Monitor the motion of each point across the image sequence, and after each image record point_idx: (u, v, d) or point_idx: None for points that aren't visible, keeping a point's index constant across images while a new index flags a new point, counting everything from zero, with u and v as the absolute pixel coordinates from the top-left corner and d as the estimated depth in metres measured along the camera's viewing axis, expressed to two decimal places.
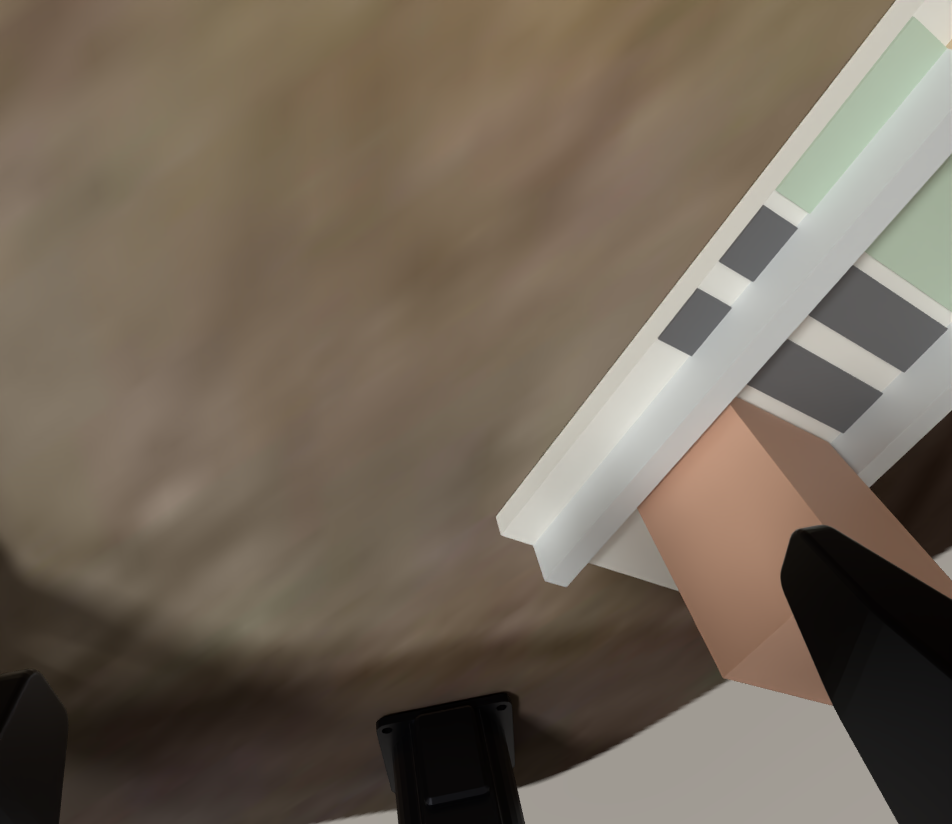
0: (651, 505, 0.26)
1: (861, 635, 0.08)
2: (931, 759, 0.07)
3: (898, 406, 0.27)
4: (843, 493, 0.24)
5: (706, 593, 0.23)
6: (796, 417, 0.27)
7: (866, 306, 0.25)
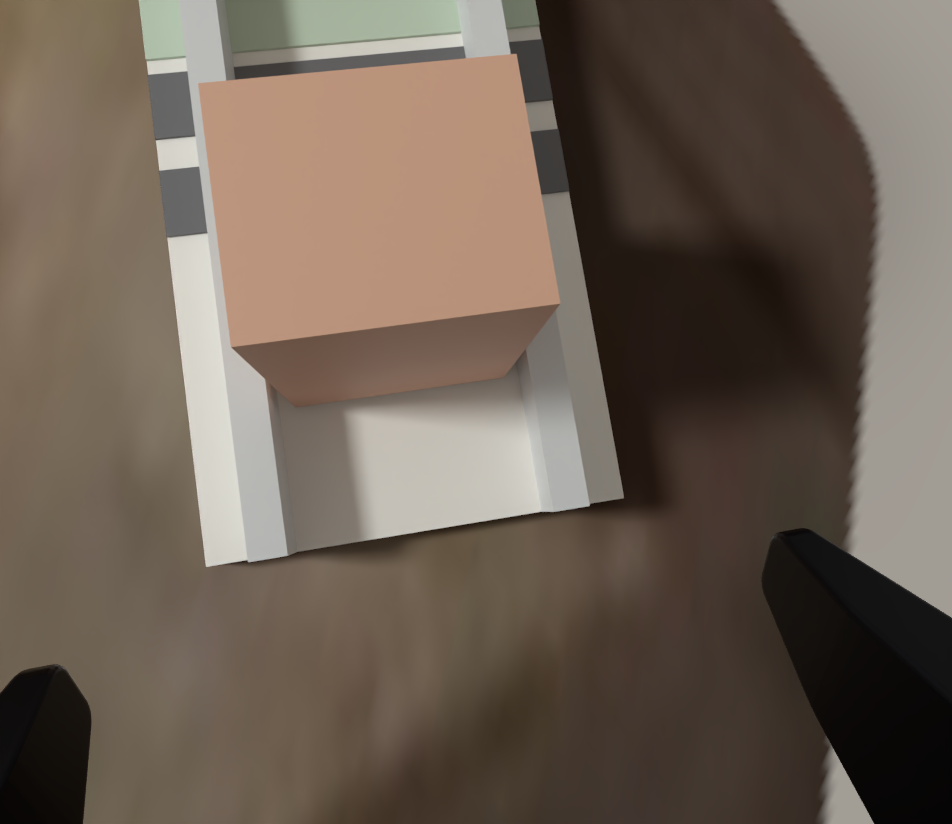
0: None
1: (839, 639, 0.08)
2: (908, 764, 0.07)
3: None
4: None
5: None
6: None
7: None
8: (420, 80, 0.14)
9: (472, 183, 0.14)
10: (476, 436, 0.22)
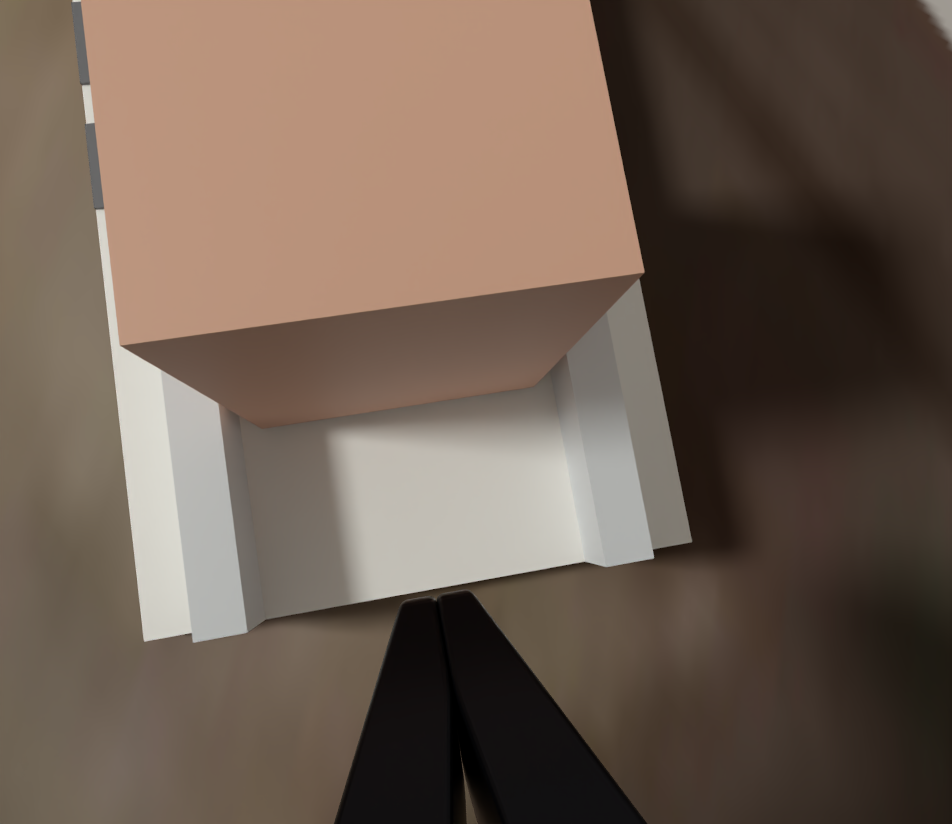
0: None
1: (457, 716, 0.08)
2: None
3: None
4: None
5: None
6: None
7: None
8: None
9: (504, 87, 0.09)
10: (499, 463, 0.17)
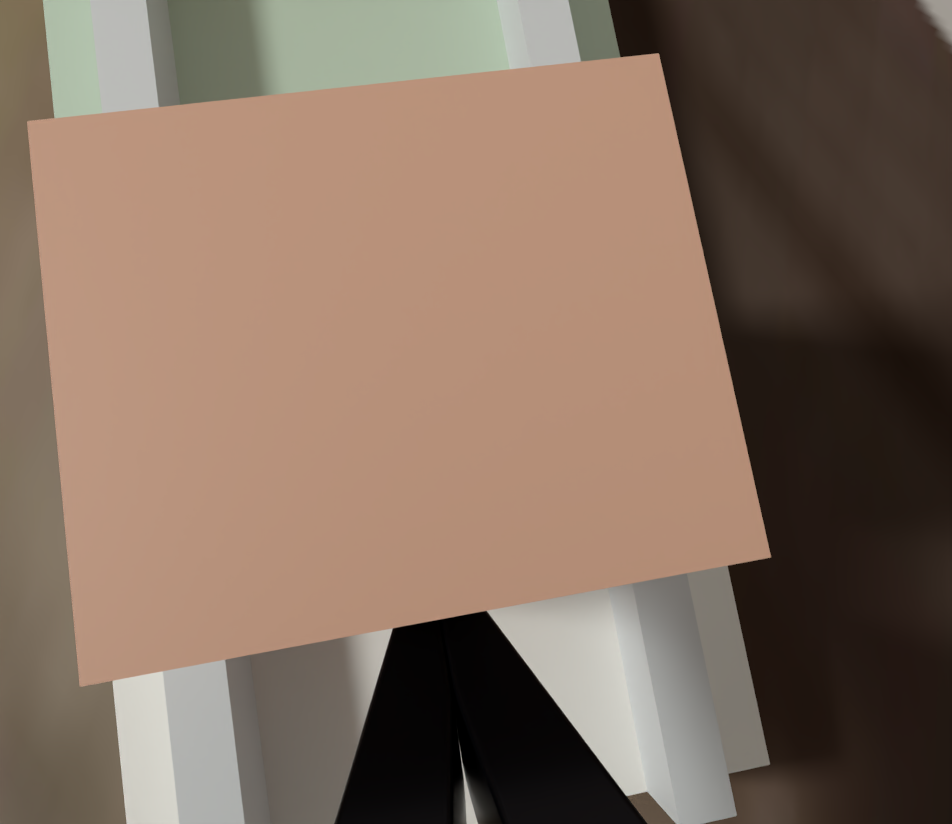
0: None
1: (458, 716, 0.08)
2: None
3: None
4: None
5: None
6: None
7: None
8: (476, 107, 0.07)
9: (584, 310, 0.07)
10: (546, 675, 0.14)
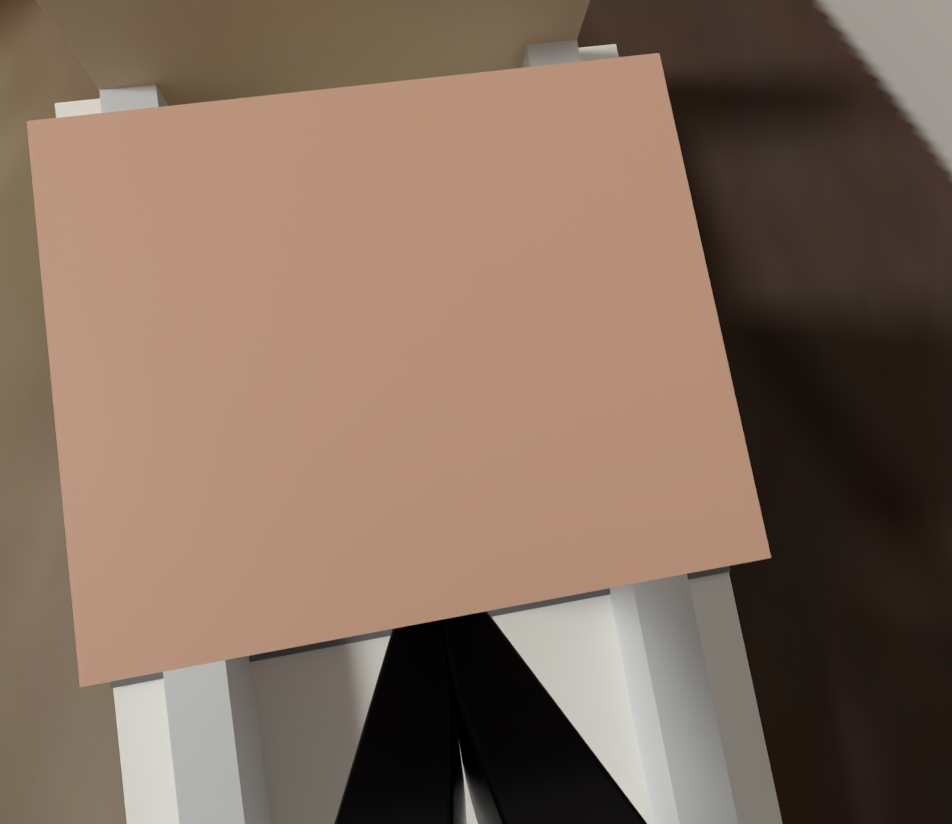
0: None
1: (458, 716, 0.08)
2: None
3: None
4: None
5: None
6: None
7: None
8: (476, 108, 0.07)
9: (584, 311, 0.07)
10: None
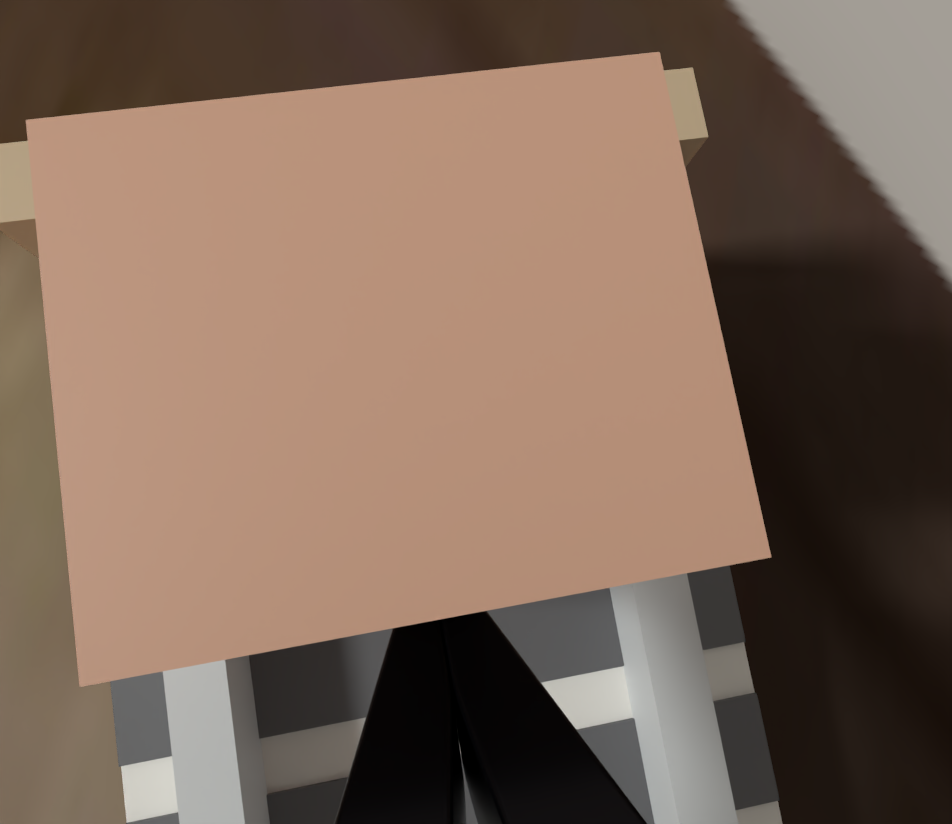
0: None
1: (458, 716, 0.08)
2: None
3: (647, 729, 0.14)
4: None
5: None
6: None
7: None
8: (474, 105, 0.07)
9: (583, 310, 0.07)
10: None
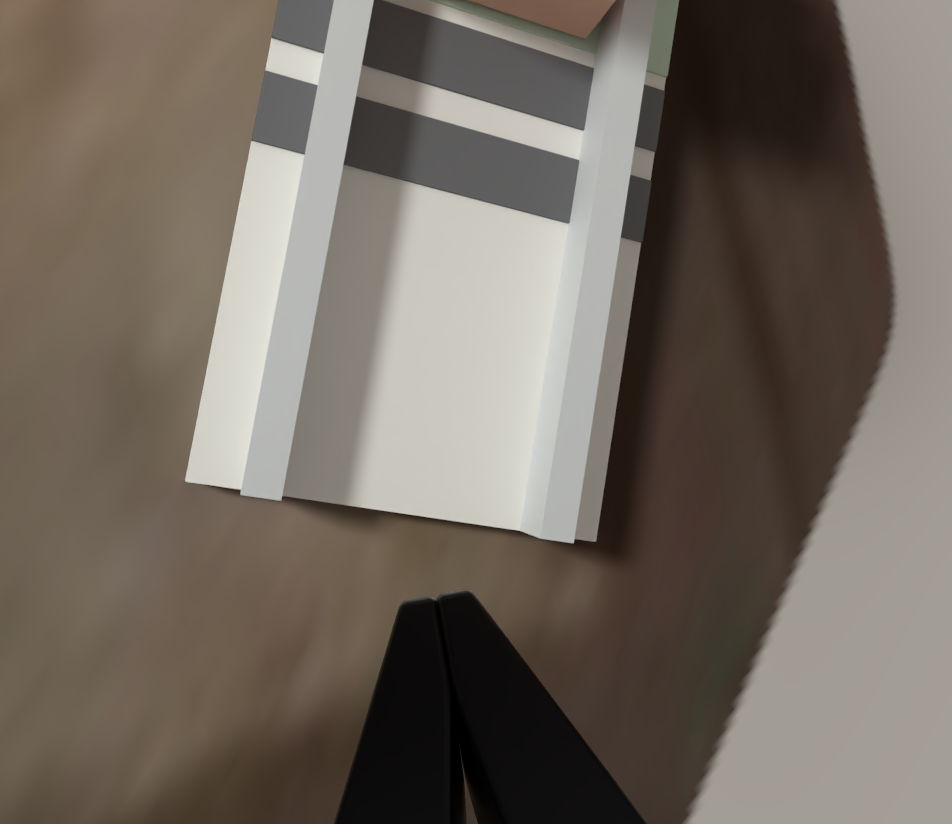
0: None
1: (458, 716, 0.08)
2: None
3: (590, 148, 0.22)
4: None
5: None
6: (495, 213, 0.22)
7: (479, 58, 0.22)
8: None
9: None
10: (484, 441, 0.22)
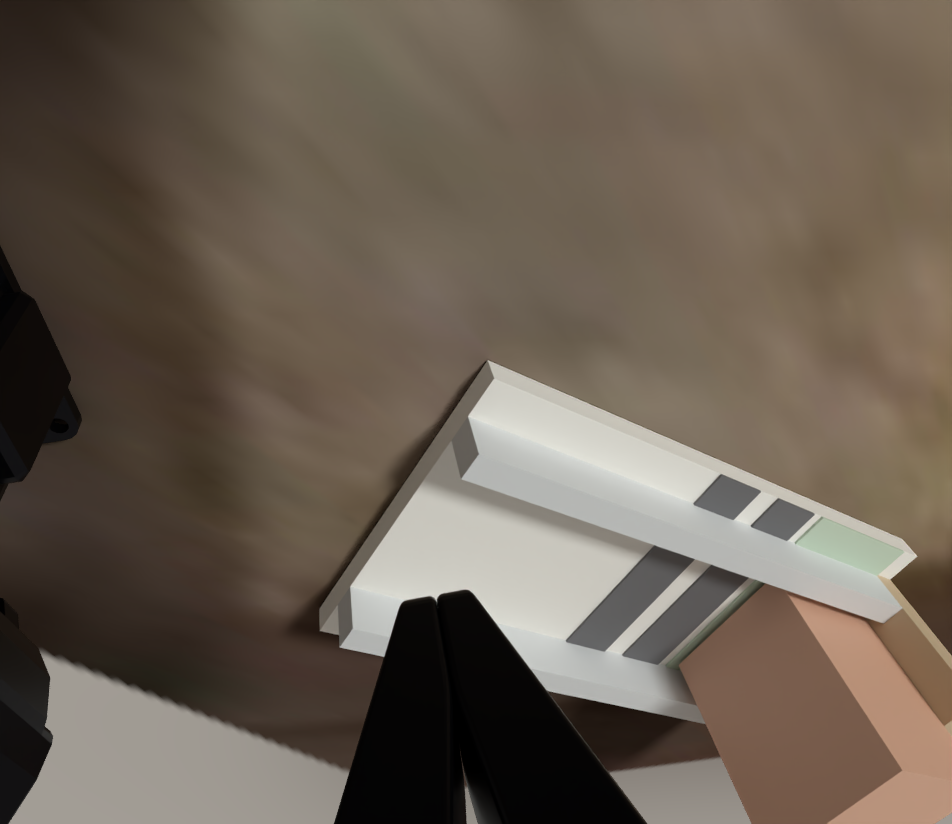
0: (803, 606, 0.29)
1: (458, 716, 0.08)
2: None
3: (611, 669, 0.30)
4: None
5: (872, 705, 0.25)
6: (594, 602, 0.29)
7: (698, 608, 0.30)
8: None
9: None
10: (432, 574, 0.26)
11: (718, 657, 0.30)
